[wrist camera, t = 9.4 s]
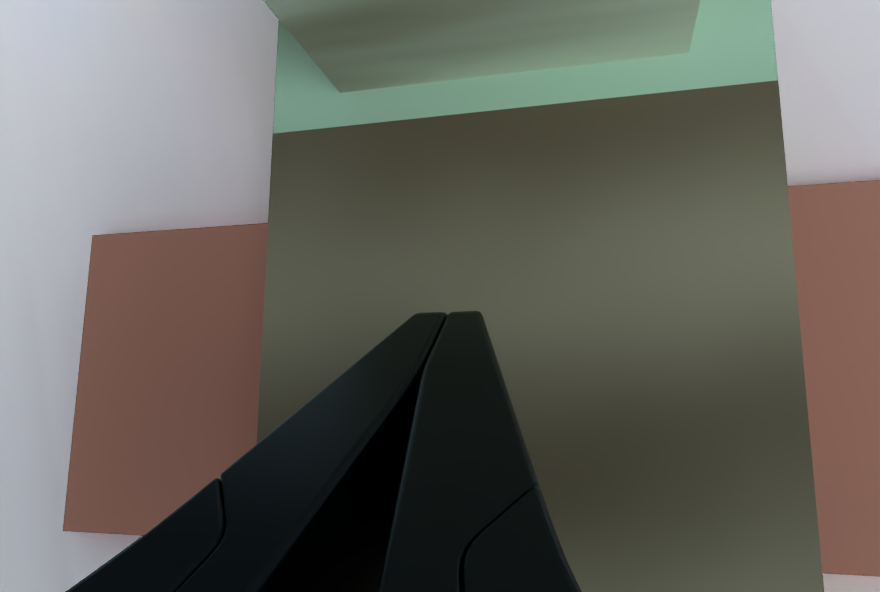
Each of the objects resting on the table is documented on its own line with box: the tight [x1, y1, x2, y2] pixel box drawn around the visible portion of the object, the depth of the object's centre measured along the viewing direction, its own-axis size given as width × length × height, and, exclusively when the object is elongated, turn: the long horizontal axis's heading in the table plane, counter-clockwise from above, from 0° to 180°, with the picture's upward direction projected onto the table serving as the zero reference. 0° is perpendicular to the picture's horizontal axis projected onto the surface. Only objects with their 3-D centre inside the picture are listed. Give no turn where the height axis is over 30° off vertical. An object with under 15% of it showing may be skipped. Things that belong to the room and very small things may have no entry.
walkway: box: [256, 0, 824, 592], centre depth 14 cm, size 22×10×4 cm, turn 0°
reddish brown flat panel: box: [63, 180, 880, 576], centre depth 16 cm, size 8×24×1 cm, turn 90°
